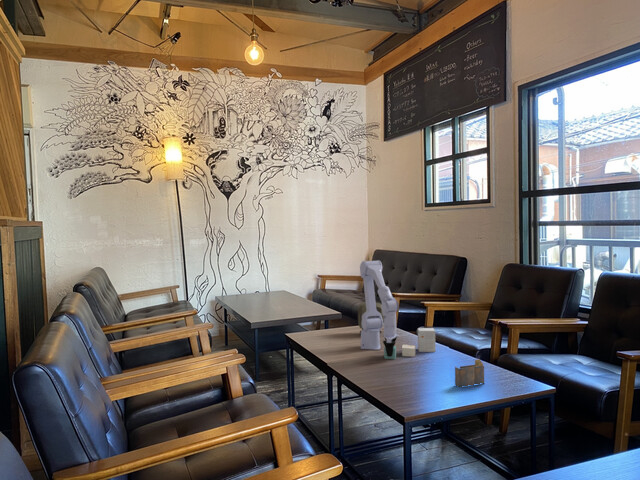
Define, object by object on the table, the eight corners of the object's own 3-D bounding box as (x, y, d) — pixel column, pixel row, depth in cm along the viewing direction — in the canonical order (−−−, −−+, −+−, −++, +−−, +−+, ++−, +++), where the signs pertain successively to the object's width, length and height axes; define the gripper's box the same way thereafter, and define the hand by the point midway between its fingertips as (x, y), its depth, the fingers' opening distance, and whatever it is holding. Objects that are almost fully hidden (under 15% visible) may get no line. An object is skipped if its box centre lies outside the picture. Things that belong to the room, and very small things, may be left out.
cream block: (402, 356, 215) (402, 347, 215) (402, 352, 221) (402, 344, 221) (415, 356, 214) (415, 348, 214) (415, 353, 220) (415, 345, 219)
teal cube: (384, 358, 211) (384, 348, 211) (385, 355, 216) (385, 345, 216) (395, 359, 210) (395, 348, 210) (395, 356, 215) (395, 345, 215)
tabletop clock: (383, 332, 261) (383, 289, 260) (384, 336, 252) (383, 292, 251) (358, 332, 262) (357, 289, 261) (357, 336, 253) (357, 291, 252)
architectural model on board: (479, 382, 179) (479, 358, 178) (484, 385, 176) (484, 360, 176) (454, 386, 175) (454, 361, 175) (459, 388, 172) (459, 363, 172)
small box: (433, 349, 226) (433, 328, 226) (435, 352, 221) (435, 330, 220) (417, 348, 227) (417, 327, 227) (418, 351, 221) (418, 330, 221)
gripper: (397, 329, 205) (397, 359, 205) (399, 322, 219) (399, 350, 219) (381, 328, 206) (382, 358, 207) (384, 321, 220) (384, 349, 221)
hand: (390, 354), depth 213 cm, fingers open, 6 cm apart
